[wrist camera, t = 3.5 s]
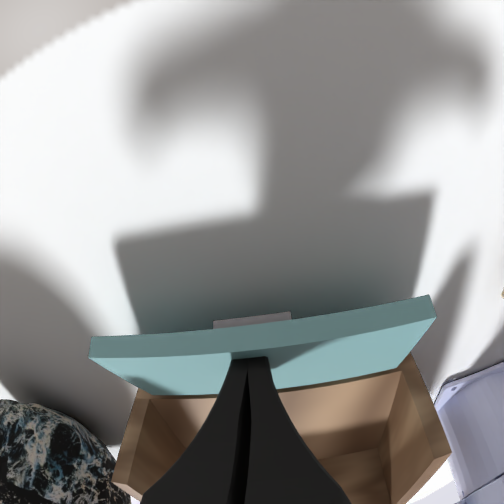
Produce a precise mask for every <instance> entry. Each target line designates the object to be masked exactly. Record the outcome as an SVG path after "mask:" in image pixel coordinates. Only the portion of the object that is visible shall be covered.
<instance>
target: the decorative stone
mask: <svg viewBox="0 0 504 504" xmlns="http://www.w3.org/2000/svg"><path fill="white" fill-rule="evenodd" d="M115 465H116V460H115V459H114V457H113V456H112V455H111V453H110V452H109V450H108V449H107V447H106V445H104V444H103V443H102V442H101V441H100V440H99V439H98V438H97V437H95V436H94V435H93V434H92V433H91V432H90V431H88V430H87V429H86V428H85V427H84V426H83V425H81V424H80V423H79V422H77V421H76V420H75V419H73V418H71V417H70V416H68V415H66V414H64V413H61V412H59V411H56V410H52V409H48V408H46V407H44V406H42V405H40V404H35V403H29V404H23V403H19V402H17V401H13V400H3V399H1V400H0V504H131V499H130V495H129V494H128V493H126V492H125V491H123V490H122V489H121V488H119V487H118V486H116V485H115V484H114V483H112V482H111V480H112V476H113V472H114V468H115Z"/></svg>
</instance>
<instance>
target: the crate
mask: <svg viewBox="0 0 504 504" xmlns="http://www.w3.org/2000/svg"><path fill="white" fill-rule="evenodd" d="M276 390H277V392H278V394H279V397H280V399H281V401H282V403H283V406H284V408H285V410H286V412H287V413H288V415H289V417H290V419H291V421H292V423H293V424H294V426H295V428H296V429H297V431H298V433H299V434H300V436H301V437H302V439H303V440H304V442H305V443H306V445H307V446H308V448H309V449H310V450H311V452H312V453H313V454H314V456H315V457H316V458H317V460H318V461H319V462H320V464H321V465H322V466H323V467H324V468H325V470H326V471H327V472H328V473H329V474H330V475H331V476H332V478H333V479H334V480H335V481H336V482H337V483H338V484H339V485H340V486H341V487H342V489H343V491H344V492H345V494H346V495H347V497H348V499H349V500H350V502H351V503H352V504H406V503H407V502H408V501H409V500H410V499H411V498H412V497H413V496H414V495H415V494H416V493H417V492H418V491H419V490H420V489H421V488H422V487H423V486H424V484H425V483H426V482H427V481H428V480H429V479H430V478H431V477H432V476H433V475H434V473H435V472H436V471H437V470H438V469H439V468H440V467H441V465H442V464H443V463H444V462H445V461H446V459H447V458H448V457H449V456H450V455H451V453H452V451H451V448H450V445H449V442H448V440H447V437H446V434H445V432H444V429H443V427H442V424H441V421H440V419H439V416H438V414H437V411H436V409H435V407H434V404H433V402H432V399H431V397H430V395H429V392H428V390H427V388H426V385H425V383H424V381H423V379H422V376H421V374H420V372H419V370H418V367H417V365H416V363H415V361H414V359H413V357H412V355H411V352H410V353H409V354H408V355H407V356H406V357H405V358H404V360H403V361H402V362H401V363H400V364H399V365H398V367H397V368H394V369H389V370H385V371H381V372H376V373H372V374H367V375H362V376H357V377H352V378H347V379H341V380H336V381H330V382H324V383H318V384H311V385H304V386H297V387H289V388H281V389H276ZM217 396H218V394H205V395H151V394H150V393H148V392H146V391H144V390H142V389H140V388H138V391H137V394H136V397H135V401H134V404H133V407H132V410H131V413H130V417H129V420H128V423H127V427H126V430H125V433H124V437H123V440H122V443H121V447H120V450H119V454H118V458H117V461H116V465H115V468H114V472H113V476H112V480H111V482H112V483H114V484H115V485H116V486H118V487H119V488H121V489H122V490H123V491H125V492H126V493H128V494H129V495H131V496H132V497H134V498H135V499H137V500H139V501H140V502H141V499H142V496H143V493H144V492H146V491H147V490H148V489H149V488H150V487H151V486H152V485H153V484H155V483H156V482H157V481H158V480H159V479H160V478H161V477H162V476H163V475H164V474H165V473H166V472H167V471H168V470H169V469H170V468H171V466H172V465H173V464H174V463H175V462H176V461H177V460H178V459H179V457H180V456H181V455H182V454H183V453H184V451H185V450H186V449H187V447H188V446H189V444H190V443H191V442H192V440H193V439H194V437H195V436H196V434H197V433H198V431H199V430H200V428H201V427H202V425H203V423H204V422H205V420H206V418H207V416H208V414H209V412H210V410H211V409H212V407H213V405H214V403H215V401H216V398H217Z"/></svg>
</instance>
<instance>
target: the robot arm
mask: <svg viewBox="0 0 504 504" xmlns="http://www.w3.org/2000/svg"><path fill="white" fill-rule="evenodd" d="M434 407H435V409H436V411H437V414H438V416H439V419H440V421H441V424H442V427H443V429H444V432H445V434H446V437H447V440H448V442H449V445H450V448H451V451H452V453H451V455H450V456H449V457H448V458H447V459H448V462H449V465H450V468H451V471H452V474H453V477H454V481H455V484H456V487H457V490H458V494H459V497H460V501H459V502H457V503H455V504H504V362H502V363H499V364H497V365H495V366H492V367H490V368H488V369H485V370H483V371H480V372H478V373H475V374H472V375H470V376H467V377H464V378H462V379H459V380H456V381H453V382H450V383H448V384H446V385H444V386H443V387H442V389H441V391H440V394H439V396H438V398H437V400H436V402H435V405H434ZM140 504H352V503H351V502H350V500H349V499H348V497H347V495H346V494H345V492H344V491H343V489H342V487H341V486H340V485H339V484H338V483H337V482H336V481H335V480H334V479H333V478H332V476H331V475H330V474H329V473H328V472H327V471H326V470H325V468H324V467H323V466H322V465H321V464H320V462H319V461H318V460H317V458H316V457H315V456H314V454H313V453H312V452H311V450H310V449H309V448H308V446H307V445H306V443H305V442H304V440H303V439H302V437H301V436H300V434H299V433H298V431H297V429H296V428H295V426H294V424H293V423H292V421H291V419H290V417H289V415H288V413H287V412H286V410H285V408H284V406H283V403H282V401H281V399H280V397H279V394H278V392H277V390H276V387H275V385H274V382H273V377H272V373H271V368H270V363H269V359H268V357H266V356H262V357H253V358H243V359H233V360H231V362H230V366H229V369H228V372H227V375H226V377H225V380H224V382H223V385H222V387H221V390H220V392H219V394H218V396H217V398H216V401H215V403H214V405H213V407H212V409H211V410H210V412H209V414H208V416H207V418H206V420H205V422H204V423H203V425H202V427H201V428H200V430H199V431H198V433H197V434H196V436H195V437H194V439H193V440H192V442H191V443H190V444H189V446H188V447H187V449H186V450H185V451H184V453H183V454H182V455H181V456H180V457H179V459H178V460H177V461H176V462H175V463H174V464H173V465H172V466H171V468H170V469H169V470H168V471H167V472H166V473H165V474H164V475H163V476H162V477H161V478H160V479H159V480H158V481H157V482H156V483H155V484H153V485H152V486H151V487H150V488H149V489H148V490H147V491H146V492H144V493H143V496H142V499H141V502H140Z"/></svg>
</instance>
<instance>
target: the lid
mask: <svg viewBox="0 0 504 504" xmlns="http://www.w3.org/2000/svg"><path fill="white" fill-rule="evenodd" d="M436 318H437V315H436V313H435V310H434V307H433V304H432V301H431V298H430V296H429V295H425V296H420V297H416V298H411V299H406V300H401V301H397V302H392V303H387V304H381V305H376V306H371V307H366V308H360V309H355V310H349V311H343V312H337V313H331V314H325V315H319V316H312V317H306V318H299V319H292V318H291V311H288V312H281V313H274V314H266V315H259V316H251V317H242V318H234V319H225V320H216V321H213V329H208V330H197V331H185V332H173V333H159V334H143V335H124V336H98V337H92V338H91V344H90V350H89V356H88V358H89V359H91V360H93V361H94V362H96V363H97V364H99V365H100V366H102V367H104V368H105V369H107V370H109V371H110V372H112V373H114V374H115V375H117V376H119V377H121V378H122V379H124V380H126V381H128V382H129V383H131V384H133V385H135V386H137V387H138V388H140V389H142V390H144V391H146V392H148V393H150V394H151V395H205V394H219V392H220V390H221V387H222V385H223V382H224V380H225V377H226V375H227V372H228V369H229V366H230V362H231V360H233V359H243V358H253V357H262V356H266V357H268V359H269V363H270V368H271V373H272V377H273V382H274V385H275V387H276V389H281V388H289V387H297V386H304V385H311V384H318V383H324V382H330V381H336V380H341V379H347V378H352V377H357V376H362V375H367V374H372V373H376V372H381V371H385V370H389V369H394V368H397V367H398V365H399V364H400V363H401V362H402V361H403V360H404V358H405V357H406V356H407V355H408V354H409V352H410V351H411V350H412V349H413V347H414V346H415V345H416V344H417V342H418V341H419V340H420V339H421V337H422V336H423V335H424V334H425V332H426V331H427V330H428V328H429V327H430V326H431V324H432V323H433V322H434V320H435V319H436Z"/></svg>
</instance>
